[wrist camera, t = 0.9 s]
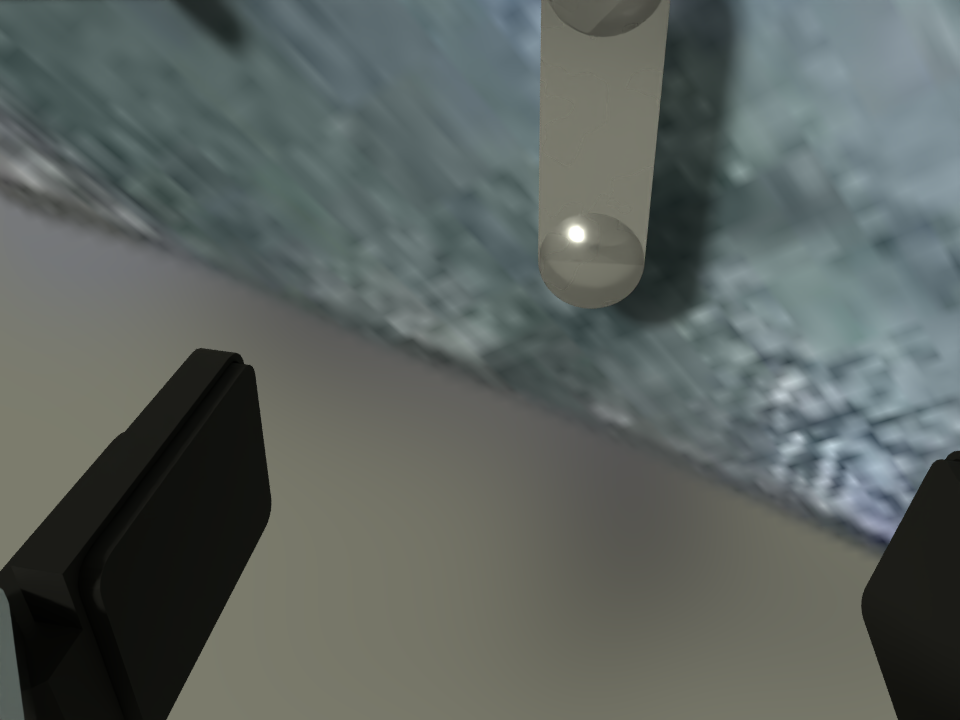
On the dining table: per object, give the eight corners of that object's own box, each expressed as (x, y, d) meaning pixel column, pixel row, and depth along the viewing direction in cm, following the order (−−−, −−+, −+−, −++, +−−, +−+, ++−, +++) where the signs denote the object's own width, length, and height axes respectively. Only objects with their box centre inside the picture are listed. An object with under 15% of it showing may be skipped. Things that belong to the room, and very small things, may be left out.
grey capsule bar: (677, -115, 24) (681, -113, 21) (640, 271, 32) (639, 311, 29) (554, -111, 25) (542, -108, 22) (547, 266, 33) (537, 305, 30)
